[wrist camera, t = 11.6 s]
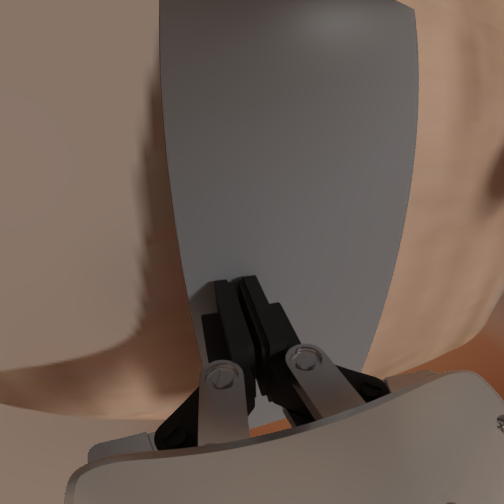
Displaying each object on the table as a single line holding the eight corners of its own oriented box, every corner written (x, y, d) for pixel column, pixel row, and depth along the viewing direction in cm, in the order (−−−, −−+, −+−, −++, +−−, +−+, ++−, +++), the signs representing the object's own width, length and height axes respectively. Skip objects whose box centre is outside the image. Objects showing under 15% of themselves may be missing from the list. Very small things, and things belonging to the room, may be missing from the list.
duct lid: (160, -29, 6) (162, -40, 5) (400, 11, 9) (414, 9, 8) (218, 425, 19) (221, 436, 18) (347, 382, 22) (353, 390, 21)
